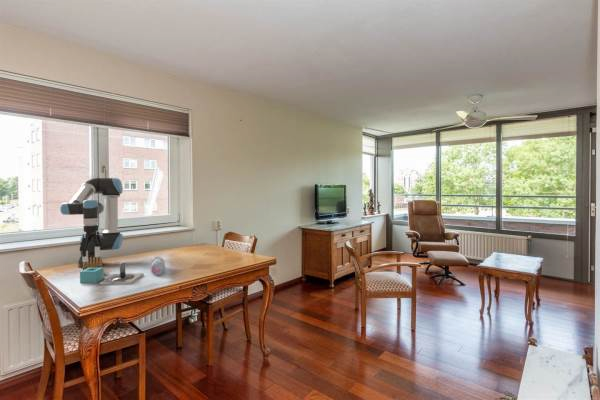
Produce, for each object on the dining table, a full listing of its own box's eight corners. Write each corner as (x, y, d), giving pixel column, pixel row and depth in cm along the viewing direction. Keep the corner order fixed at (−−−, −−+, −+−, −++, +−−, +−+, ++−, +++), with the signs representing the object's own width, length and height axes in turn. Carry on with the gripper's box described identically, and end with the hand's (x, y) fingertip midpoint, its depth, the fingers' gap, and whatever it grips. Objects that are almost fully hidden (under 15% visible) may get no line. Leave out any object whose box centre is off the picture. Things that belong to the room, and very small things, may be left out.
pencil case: (151, 269, 219) (151, 256, 218) (164, 268, 223) (164, 255, 222) (150, 277, 200) (150, 262, 200) (165, 275, 204) (165, 261, 203)
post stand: (114, 276, 201) (114, 260, 201) (143, 275, 204) (143, 259, 203) (99, 284, 184) (99, 267, 183) (131, 283, 186) (131, 266, 185)
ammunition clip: (102, 273, 208) (101, 255, 208) (102, 273, 207) (101, 256, 206) (82, 275, 202) (82, 257, 202) (82, 276, 201) (82, 257, 200)
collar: (88, 278, 195) (88, 267, 195) (103, 278, 196) (103, 267, 196) (80, 283, 187) (79, 271, 186) (96, 282, 188) (95, 271, 187)
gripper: (85, 227, 178) (86, 263, 179) (107, 222, 203) (108, 254, 203) (71, 227, 177) (72, 264, 178) (95, 223, 202) (96, 255, 203)
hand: (91, 259), depth 191 cm, fingers open, 13 cm apart
